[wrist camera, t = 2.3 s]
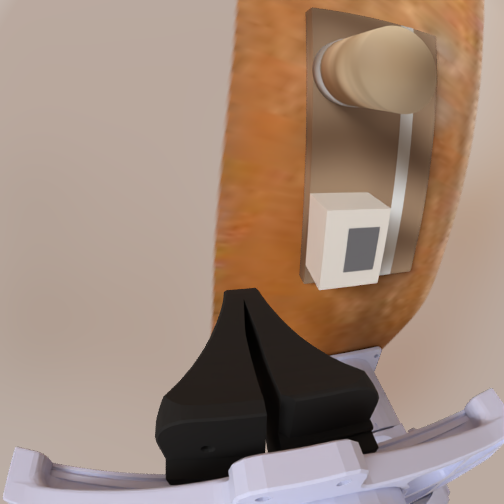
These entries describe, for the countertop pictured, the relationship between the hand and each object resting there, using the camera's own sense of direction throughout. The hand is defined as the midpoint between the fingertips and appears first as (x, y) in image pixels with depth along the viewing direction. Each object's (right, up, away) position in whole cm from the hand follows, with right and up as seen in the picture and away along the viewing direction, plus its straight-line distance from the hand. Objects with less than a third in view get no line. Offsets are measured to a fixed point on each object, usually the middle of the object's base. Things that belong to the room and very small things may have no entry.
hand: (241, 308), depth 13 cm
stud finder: (+6, +4, +7) cm, 10 cm away
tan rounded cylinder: (+6, +13, +2) cm, 14 cm away
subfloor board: (+8, +9, +6) cm, 14 cm away
